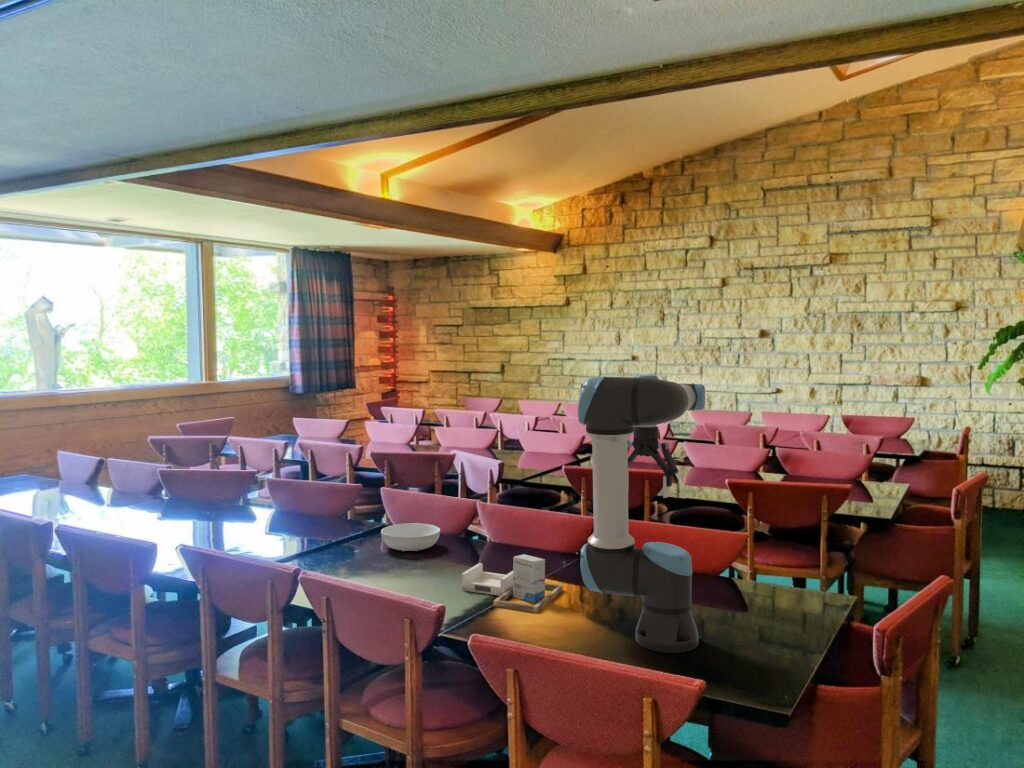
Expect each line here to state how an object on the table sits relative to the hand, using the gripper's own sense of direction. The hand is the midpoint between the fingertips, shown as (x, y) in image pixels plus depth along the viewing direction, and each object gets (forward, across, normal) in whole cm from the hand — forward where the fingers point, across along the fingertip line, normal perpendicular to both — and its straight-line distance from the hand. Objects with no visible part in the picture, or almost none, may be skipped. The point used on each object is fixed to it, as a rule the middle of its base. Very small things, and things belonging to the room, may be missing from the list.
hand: (645, 494), depth 229 cm
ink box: (+27, +20, +34) cm, 48 cm away
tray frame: (+26, +20, +34) cm, 48 cm away
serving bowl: (+27, +84, +15) cm, 89 cm away
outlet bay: (+26, +34, +33) cm, 54 cm away
